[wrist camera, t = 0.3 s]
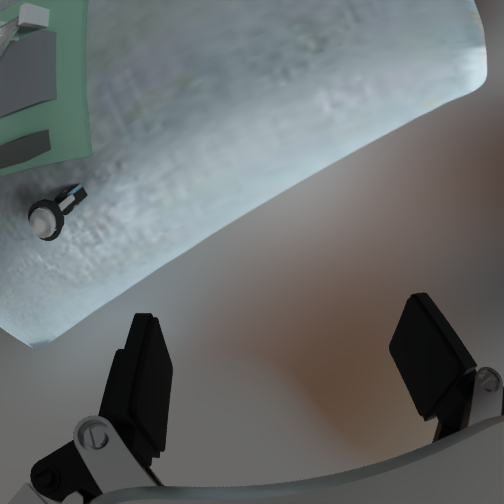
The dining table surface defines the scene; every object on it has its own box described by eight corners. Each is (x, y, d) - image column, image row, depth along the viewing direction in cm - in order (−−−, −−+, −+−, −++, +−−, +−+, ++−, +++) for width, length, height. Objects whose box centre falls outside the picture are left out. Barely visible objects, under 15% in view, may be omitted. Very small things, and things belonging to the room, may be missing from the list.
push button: (66, 221, 39) (35, 255, 30) (48, 194, 36) (13, 222, 28) (95, 201, 38) (64, 233, 29) (76, 171, 35) (40, 197, 27)
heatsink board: (-2, 17, 19) (-32, 14, 12) (90, -26, 20) (65, -43, 13) (5, 173, 33) (-25, 191, 26) (92, 154, 34) (65, 170, 27)
